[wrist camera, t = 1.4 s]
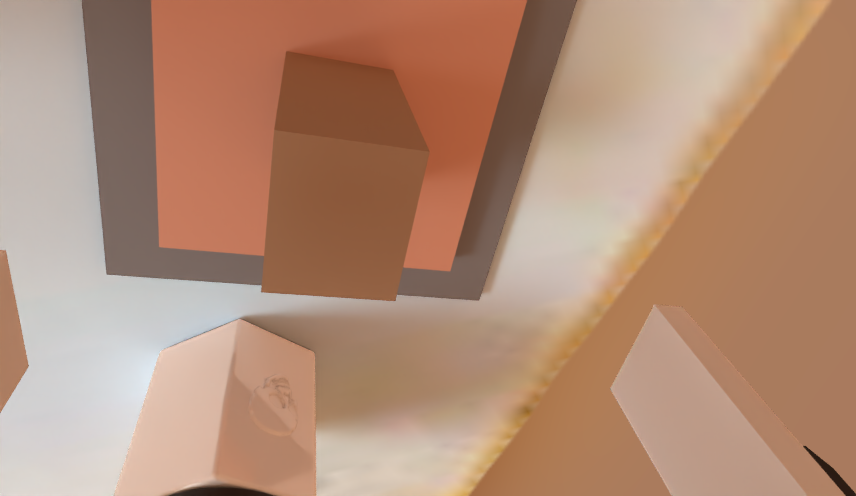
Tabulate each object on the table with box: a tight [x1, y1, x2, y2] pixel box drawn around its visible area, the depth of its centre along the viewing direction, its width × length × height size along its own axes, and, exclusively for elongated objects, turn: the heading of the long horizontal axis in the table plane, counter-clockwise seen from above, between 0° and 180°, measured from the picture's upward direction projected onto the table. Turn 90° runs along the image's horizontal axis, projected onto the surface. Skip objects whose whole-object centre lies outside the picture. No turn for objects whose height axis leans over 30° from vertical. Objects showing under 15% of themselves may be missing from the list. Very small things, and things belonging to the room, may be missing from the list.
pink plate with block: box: [151, 0, 527, 301], centre depth 19 cm, size 13×13×9 cm
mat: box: [82, 0, 577, 300], centre depth 23 cm, size 18×18×1 cm
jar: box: [114, 319, 316, 496], centre depth 26 cm, size 9×8×12 cm
